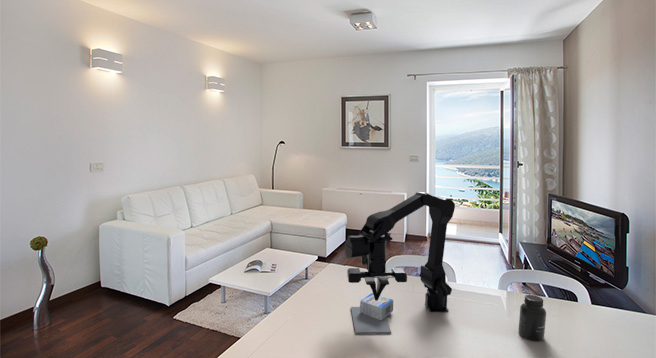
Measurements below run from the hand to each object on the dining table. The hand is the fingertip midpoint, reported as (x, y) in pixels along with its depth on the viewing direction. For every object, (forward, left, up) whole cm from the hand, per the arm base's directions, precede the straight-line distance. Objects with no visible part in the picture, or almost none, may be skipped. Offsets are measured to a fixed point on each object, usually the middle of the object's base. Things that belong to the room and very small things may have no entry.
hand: (376, 300), depth 113 cm
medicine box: (-4, -1, -4) cm, 6 cm away
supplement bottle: (-46, +10, -7) cm, 48 cm away
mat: (+2, 0, -7) cm, 7 cm away
